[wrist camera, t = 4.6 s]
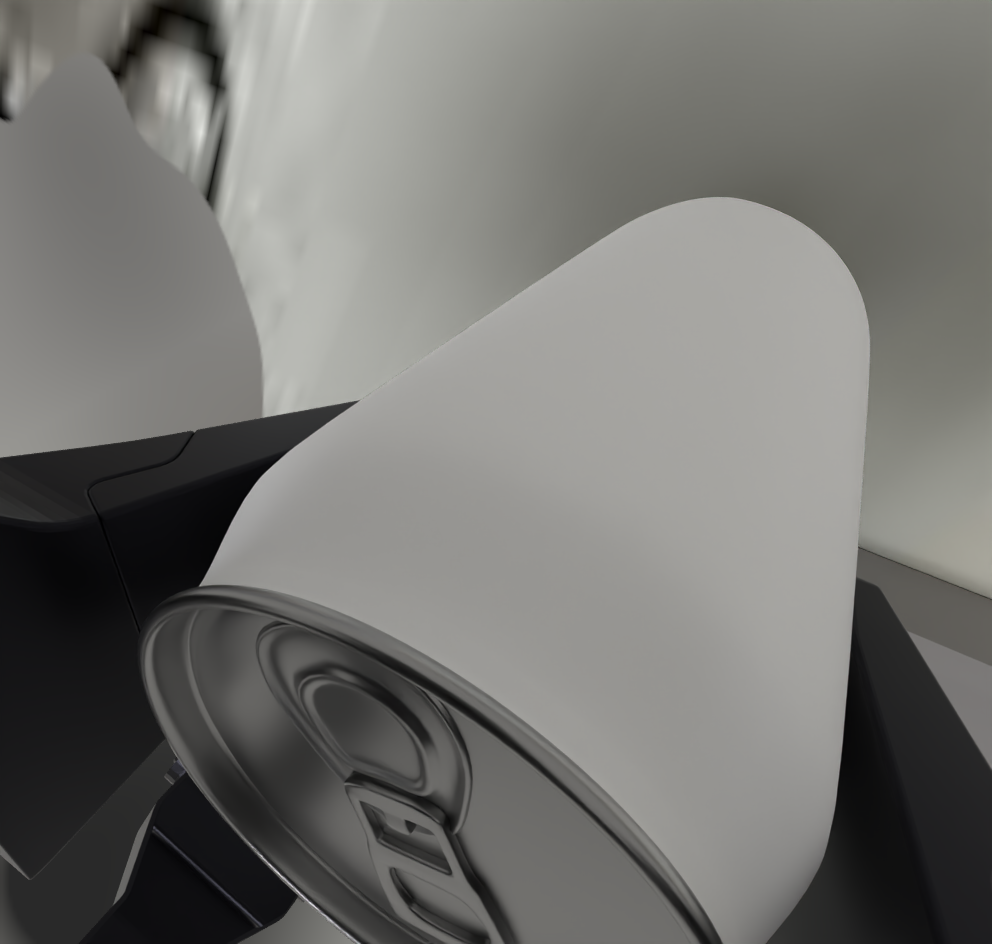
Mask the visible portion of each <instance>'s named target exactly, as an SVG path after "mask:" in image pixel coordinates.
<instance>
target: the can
mask: <svg viewBox="0 0 992 944" xmlns="http://www.w3.org/2000/svg"><path fill="white" fill-rule="evenodd" d="M869 371H870V333H869V324H868V318H867V314H866V309H865V306H864V302H863V299H862V296H861V293H860V291H859V289H858V286H857V284H856V282H855V280H854V278H853V276H852V275H851V273H850V271H849V270H848V268H847V266H846V265H845V263H844V262H843V261H842V259H841V258H840V257H839V256H838V254H837V253H836V252H835V251H834V250H833V249H832V248H831V246H830V245H829V244H828V243H827V242H826V241H824V240H823V239H822V238H821V237H820V236H819V235H818V234H816V233H815V232H814V231H813V230H811V229H810V228H809V227H807V226H806V225H804V224H803V223H801V222H799V221H798V220H796V219H794V218H792V217H790V216H789V215H787V214H784V213H782V212H780V211H778V210H775V209H773V208H770V207H767V206H765V205H761V204H758V203H755V202H751V201H748V200H743V199H738V198H730V197H708V198H699V199H693V200H687V201H683V202H679V203H675V204H672V205H669V206H666V207H663V208H660V209H657V210H655V211H652V212H650V213H647V214H645V215H643V216H640V217H638V218H636V219H634V220H632V221H631V222H629V223H627V224H625V225H623V226H622V227H620V228H618V229H617V230H615V231H614V232H612V233H610V234H609V235H607V236H606V237H604V238H602V239H601V240H599V241H598V242H596V243H595V244H593V245H592V246H590V247H589V248H587V249H586V250H584V251H582V252H581V253H579V254H578V255H576V256H575V257H573V258H572V259H570V260H569V261H567V262H566V263H564V264H563V265H561V266H560V267H558V268H557V269H555V270H554V271H552V272H551V273H549V274H548V275H546V276H545V277H543V278H542V279H540V280H539V281H537V282H536V283H534V284H533V285H531V286H530V287H528V288H526V289H525V290H523V291H522V292H520V293H519V294H517V295H516V296H514V297H513V298H511V299H510V300H508V301H507V302H505V303H504V304H502V305H501V306H500V307H498V308H497V309H495V310H494V311H492V312H491V313H489V314H488V315H486V316H485V317H483V318H482V319H480V320H479V321H477V322H476V323H474V324H473V325H471V326H470V327H468V328H467V329H465V330H464V331H462V332H461V333H459V334H458V335H456V336H455V337H453V338H452V339H450V340H449V341H447V342H446V343H444V344H443V345H441V346H440V347H438V348H437V349H435V350H434V351H432V352H431V353H429V354H428V355H426V356H425V357H424V358H422V359H421V360H419V361H418V362H416V363H415V364H413V365H412V366H410V367H409V368H407V369H406V370H404V371H403V372H401V373H400V374H398V375H397V376H395V377H394V378H392V379H391V380H389V381H388V382H386V383H385V384H384V385H382V386H381V387H379V388H378V389H376V390H375V391H373V392H372V393H370V394H369V395H368V396H366V397H365V398H363V399H362V400H360V401H359V402H357V403H356V404H354V405H353V406H351V407H350V408H349V409H347V410H346V411H344V412H343V413H341V414H340V415H338V416H337V417H335V418H334V419H333V420H331V421H330V422H328V423H327V424H326V425H324V426H323V427H321V428H320V429H319V430H317V431H316V432H315V433H313V434H312V435H310V436H309V437H308V438H306V439H305V440H304V441H302V442H301V443H299V444H298V445H297V446H295V447H294V448H293V449H292V450H290V451H289V452H288V453H287V454H285V455H284V456H283V457H282V458H281V459H280V460H279V461H278V462H276V463H275V464H274V465H273V466H272V467H271V468H270V469H268V470H267V471H266V472H265V473H264V474H263V475H262V476H261V478H260V479H259V480H258V481H257V482H256V484H255V485H254V486H253V488H252V489H251V491H250V492H249V494H248V495H247V496H246V498H245V499H244V501H243V503H242V504H241V506H240V508H239V510H238V511H237V513H236V515H235V517H234V519H233V521H232V523H231V525H230V527H229V529H228V531H227V533H226V535H225V537H224V539H223V541H222V543H221V545H220V547H219V549H218V552H217V554H216V556H215V558H214V560H213V562H212V564H211V566H210V568H209V570H208V572H207V574H206V576H205V578H204V579H203V581H202V582H201V584H200V585H199V586H198V587H196V588H191V589H187V590H185V591H182V592H179V593H177V594H175V595H173V596H171V597H169V598H168V599H166V600H165V601H163V602H162V603H160V604H159V605H158V606H157V607H156V608H155V609H154V610H153V611H152V612H151V613H150V614H149V616H148V617H147V619H146V621H145V623H144V625H143V627H142V629H141V632H140V636H139V641H138V653H137V655H138V666H139V673H140V678H141V682H142V685H143V689H144V692H145V695H146V698H147V700H148V703H149V705H150V708H151V710H152V712H153V715H154V717H155V719H156V721H157V723H158V725H159V727H160V729H161V731H162V733H163V734H164V736H165V738H166V740H167V741H168V743H169V745H170V747H171V748H172V750H173V751H174V753H175V755H176V756H177V758H178V759H179V761H180V762H181V764H182V765H183V767H184V768H185V770H186V771H187V773H188V774H189V776H190V777H191V778H192V780H193V781H194V782H195V784H196V785H197V787H198V788H199V789H200V791H201V792H202V793H203V794H204V796H205V797H206V798H207V800H208V801H209V802H210V803H211V805H212V806H213V807H214V808H215V809H216V811H217V812H218V813H219V814H220V815H221V817H222V818H223V819H224V820H225V821H226V822H227V824H228V825H229V826H230V827H231V828H232V829H233V830H234V832H235V833H236V834H237V835H238V836H239V837H240V838H241V839H242V840H243V841H244V843H245V844H246V845H247V846H248V847H249V848H250V849H251V850H252V851H253V852H254V853H255V854H256V855H257V856H258V857H259V858H260V859H261V860H262V861H263V862H264V863H265V864H266V865H267V866H268V867H269V868H270V869H271V870H272V871H273V872H274V873H275V874H276V875H277V876H278V877H279V878H280V879H281V880H282V881H283V882H284V883H285V884H286V885H287V886H288V887H289V888H290V889H292V890H293V891H294V892H295V893H296V894H297V895H298V896H299V897H300V898H301V899H302V900H304V901H305V902H306V903H307V904H308V905H309V906H310V907H311V908H313V909H314V910H315V911H316V912H317V913H318V914H320V915H321V916H322V917H323V918H324V919H325V920H327V921H328V922H329V923H330V924H331V925H333V926H334V927H335V928H336V929H337V930H339V931H340V932H341V933H342V934H344V935H345V936H346V937H347V938H348V939H350V940H351V941H352V942H353V943H355V944H766V943H767V941H768V940H769V939H770V938H771V937H772V935H773V934H774V933H775V932H776V931H777V929H778V928H779V927H780V926H781V924H782V923H783V922H784V921H785V919H786V918H787V917H788V916H789V914H790V913H791V912H792V910H793V909H794V908H795V906H796V905H797V903H798V902H799V901H800V899H801V898H802V896H803V895H804V893H805V892H806V890H807V889H808V887H809V885H810V884H811V882H812V880H813V878H814V876H815V874H816V873H817V871H818V869H819V867H820V865H821V862H822V860H823V857H824V854H825V851H826V847H827V843H828V839H829V834H830V830H831V825H832V821H833V816H834V811H835V805H836V797H837V788H838V780H839V771H840V762H841V753H842V743H843V732H844V720H845V708H846V696H847V684H848V673H849V661H850V648H851V635H852V621H853V608H854V595H855V582H856V568H857V555H858V540H859V526H860V512H861V498H862V484H863V469H864V454H865V439H866V424H867V407H868V391H869Z"/></svg>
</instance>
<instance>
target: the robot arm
mask: <svg viewBox="0 0 992 944" xmlns="http://www.w3.org/2000/svg"><path fill="white" fill-rule="evenodd" d="M359 401H360V400H359ZM359 401H354V402H348V403H343V404H337V405H332V406H326V407H320V408H315V409H309V410H304V411H298V412H293V413H287V414H282V415H276V416H271V417H265V418H260V419H254V420H249V421H243V422H238V423H233V424H227V425H221V426H216V427H210V428H205V429H200V430H197V431H196V432H195V433H194V432H193V431H187V432H182V433H177V434H172V435H166V436H159V437H153V438H147V439H141V440H135V441H128V442H121V443H113V444H106V445H99V446H91V447H84V448H75V449H67V450H59V451H50V452H43V453H34V454H26V455H18V456H10V457H2V458H0V855H1V856H2V857H4V858H5V859H6V860H7V861H8V862H9V863H11V865H13V866H14V867H15V868H16V869H17V870H18V871H20V872H21V873H22V874H23V875H24V876H25V877H26V878H28V879H29V880H31V879H33V878H34V877H35V876H36V875H37V874H38V873H39V872H40V871H41V870H42V869H43V868H44V867H45V866H46V865H47V864H48V863H49V862H50V861H51V860H52V859H53V858H54V857H55V856H56V855H57V854H58V853H59V852H60V851H61V850H62V849H63V847H64V846H65V845H66V844H67V843H68V842H69V841H70V840H71V839H72V838H73V837H74V836H75V835H76V834H77V833H78V832H79V830H80V829H81V828H82V827H83V826H84V825H85V824H86V823H87V822H88V821H89V820H90V819H91V818H92V817H93V816H94V814H96V812H97V811H98V810H99V809H100V808H101V807H102V806H103V805H104V804H105V803H106V802H107V801H108V800H109V799H110V798H111V797H112V796H113V794H114V793H115V792H116V791H117V790H118V789H119V788H120V787H121V786H122V785H123V784H124V783H125V782H126V781H127V779H129V777H130V776H131V775H132V774H133V773H134V772H135V771H136V770H137V769H138V768H139V767H140V766H141V765H142V764H143V763H144V761H145V760H146V759H147V758H148V757H149V756H150V755H151V754H152V753H153V752H154V751H155V750H156V749H157V748H158V747H159V746H160V745H161V743H162V742H163V741H164V740H165V739H166V738H165V736H164V734H163V733H162V731H161V729H160V727H159V725H158V723H157V721H156V719H155V717H154V715H153V712H152V710H151V708H150V705H149V703H148V700H147V698H146V695H145V692H144V689H143V685H142V682H141V678H140V673H139V666H138V655H137V653H138V641H139V636H140V632H141V629H142V627H143V625H144V623H145V621H146V619H147V617H148V616H149V614H150V613H151V612H152V611H153V610H154V609H155V608H156V607H157V606H158V605H159V604H160V603H162V602H163V601H165V600H166V599H168V598H169V597H171V596H173V595H175V594H177V593H179V592H182V591H185V590H187V589H191V588H196V587H198V586H199V585H200V584H201V582H202V581H203V579H204V578H205V576H206V574H207V572H208V570H209V568H210V566H211V564H212V562H213V560H214V558H215V556H216V554H217V552H218V549H219V547H220V545H221V543H222V541H223V539H224V537H225V535H226V533H227V531H228V529H229V527H230V525H231V523H232V521H233V519H234V517H235V515H236V513H237V511H238V510H239V508H240V506H241V504H242V503H243V501H244V499H245V498H246V496H247V495H248V494H249V492H250V491H251V489H252V488H253V486H254V485H255V484H256V482H257V481H258V480H259V479H260V478H261V476H262V475H263V474H264V473H265V472H266V471H267V470H268V469H270V468H271V467H272V466H273V465H274V464H275V463H276V462H278V461H279V460H280V459H281V458H282V457H283V456H284V455H285V454H287V453H288V452H289V451H290V450H292V449H293V448H294V447H295V446H297V445H298V444H299V443H301V442H302V441H304V440H305V439H306V438H308V437H309V436H310V435H312V434H313V433H315V432H316V431H317V430H319V429H320V428H321V427H323V426H324V425H326V424H327V423H328V422H330V421H331V420H333V419H334V418H335V417H337V416H338V415H340V414H341V413H343V412H344V411H346V410H347V409H349V408H350V407H351V406H353V405H354V404H356V403H357V402H359ZM174 762H175V763H174V765H173V766H172V767H171V768H170V769H169V771H168V772H167V773H166V775H165V778H166V779H167V780H168V781H169V782H170V783H171V784H172V786H171V787H170V788H169V789H168V791H167V792H166V793H165V794H164V795H163V796H162V797H161V798H160V799H159V800H158V802H157V803H156V804H155V806H154V807H153V809H152V811H151V812H150V814H149V815H148V817H147V819H146V820H145V821H144V823H143V825H142V826H141V828H140V830H139V831H138V833H137V836H136V839H135V842H134V845H133V848H132V851H131V854H130V857H129V860H128V863H127V866H126V869H125V871H124V874H123V878H122V881H121V884H120V886H119V889H118V892H117V895H116V898H115V902H114V904H113V906H112V907H111V908H110V910H109V911H108V912H107V913H106V914H105V915H104V916H103V917H102V918H101V920H100V921H99V922H98V923H97V924H96V925H95V926H94V927H93V928H92V929H91V931H90V932H89V933H88V934H87V935H86V936H85V937H84V938H83V939H82V940H81V942H80V943H79V944H238V943H240V942H242V941H243V940H245V939H247V938H249V937H251V936H252V935H254V934H256V933H258V932H259V931H261V930H263V929H265V928H267V927H268V926H270V925H272V924H274V923H276V922H277V921H279V920H280V919H282V918H283V917H284V915H285V914H286V913H287V912H288V910H289V909H290V907H291V906H292V905H293V903H294V902H295V900H296V899H297V898H298V899H299V900H300V901H301V902H305V901H304V900H302V899H301V898H300V897H299V896H298V895H297V894H296V893H295V892H294V891H293V890H292V889H290V888H289V887H288V886H287V885H286V884H285V883H284V882H283V881H282V880H281V879H280V878H279V877H278V876H277V875H276V874H275V873H274V872H273V871H272V870H271V869H270V868H269V867H268V866H267V865H266V864H265V863H264V862H263V861H262V860H261V859H260V858H259V857H258V856H257V855H256V854H255V853H254V852H253V851H252V850H251V849H250V848H249V847H248V846H247V845H246V844H245V843H244V841H243V840H242V839H241V838H240V837H239V836H238V835H237V834H236V833H235V832H234V830H233V829H232V828H231V827H230V826H229V825H228V824H227V822H226V821H225V820H224V819H223V818H222V817H221V815H220V814H219V813H218V812H217V811H216V809H215V808H214V807H213V806H212V805H211V803H210V802H209V801H208V800H207V798H206V797H205V796H204V794H203V793H202V792H201V791H200V789H199V788H198V787H197V785H196V784H195V782H194V781H193V780H192V778H191V777H190V776H189V774H188V773H187V771H186V770H185V768H184V767H183V765H182V764H181V762H180V761H179V759H178V758H177V757H176V758H175V760H174ZM766 944H992V768H991V767H990V765H989V763H988V762H987V760H986V758H985V757H984V755H983V754H982V752H981V750H980V749H979V747H978V745H977V744H976V742H975V741H974V739H973V737H972V736H971V734H970V732H969V731H968V729H967V728H966V726H965V724H964V723H963V721H962V719H961V718H960V716H959V715H958V713H957V711H956V710H955V708H954V706H953V705H952V703H951V702H950V700H949V698H948V697H947V695H946V693H945V692H944V690H943V689H942V687H941V685H940V684H939V682H938V680H937V679H936V677H935V676H934V674H933V672H932V671H931V669H930V667H929V666H928V664H927V663H926V661H925V659H924V658H923V656H922V654H921V653H920V651H919V650H918V648H917V646H916V645H915V643H914V641H913V640H912V638H911V637H910V635H909V633H908V632H907V630H906V628H905V627H904V625H903V624H902V622H901V620H900V619H899V617H898V615H897V614H896V612H895V611H894V609H893V607H892V606H891V604H890V602H889V601H888V599H887V598H886V596H885V594H884V593H883V591H882V590H881V588H880V587H879V586H878V585H876V584H874V583H871V582H869V581H866V580H864V579H861V578H859V577H856V582H855V595H854V608H853V621H852V635H851V648H850V661H849V673H848V684H847V696H846V708H845V720H844V732H843V743H842V753H841V762H840V771H839V780H838V788H837V797H836V805H835V811H834V816H833V821H832V825H831V830H830V834H829V839H828V843H827V847H826V851H825V854H824V857H823V860H822V862H821V865H820V867H819V869H818V871H817V873H816V874H815V876H814V878H813V880H812V882H811V884H810V885H809V887H808V889H807V890H806V892H805V893H804V895H803V896H802V898H801V899H800V901H799V902H798V903H797V905H796V906H795V908H794V909H793V910H792V912H791V913H790V914H789V916H788V917H787V918H786V919H785V921H784V922H783V923H782V924H781V926H780V927H779V928H778V929H777V931H776V932H775V933H774V934H773V935H772V937H771V938H770V939H769V940H768V941H767V943H766Z"/></svg>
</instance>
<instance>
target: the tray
mask: <svg viewBox="0 0 992 944" xmlns="http://www.w3.org/2000/svg"><path fill="white" fill-rule="evenodd" d="M856 577H859V578H861V579H864V580H866V581H869V582H871V583H874V584H876V585H878V586H879V587H880V588H881V590H882V591H883V593H884V594H885V596H886V598H887V599H888V601H889V602H890V604H891V606H892V607H893V609H894V611H895V612H896V614H897V615H898V617H899V619H900V620H901V622H902V624H903V625H904V627H905V628H906V630H907V632H908V633H909V635H910V637H911V638H912V640H913V641H914V643H915V645H916V646H917V648H918V650H919V651H920V653H921V654H922V656H923V658H924V659H925V661H926V663H927V664H928V666H929V667H930V669H931V671H932V672H933V674H934V676H935V677H936V679H937V680H938V682H939V684H940V685H941V687H942V689H943V690H944V692H945V693H946V695H947V697H948V698H949V700H950V702H951V703H952V705H953V706H954V708H955V710H956V711H957V713H958V715H959V716H960V718H961V719H962V721H963V723H964V724H965V726H966V728H967V729H968V731H969V732H970V734H971V736H972V737H973V739H974V741H975V742H976V744H977V745H978V747H979V749H980V750H981V752H982V754H983V755H984V757H985V758H986V760H987V762H988V763H989V765H990V767H991V768H992V600H990V599H988V598H985V597H983V596H980V595H978V594H975V593H973V592H970V591H967V590H965V589H962V588H960V587H957V586H955V585H952V584H950V583H947V582H944V581H942V580H939V579H937V578H934V577H932V576H929V575H927V574H924V573H921V572H919V571H916V570H914V569H911V568H909V567H906V566H904V565H901V564H899V563H896V562H893V561H891V560H888V559H886V558H883V557H881V556H878V555H876V554H873V553H870V552H868V551H865V550H863V549H860V548H858V555H857V568H856Z"/></svg>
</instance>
